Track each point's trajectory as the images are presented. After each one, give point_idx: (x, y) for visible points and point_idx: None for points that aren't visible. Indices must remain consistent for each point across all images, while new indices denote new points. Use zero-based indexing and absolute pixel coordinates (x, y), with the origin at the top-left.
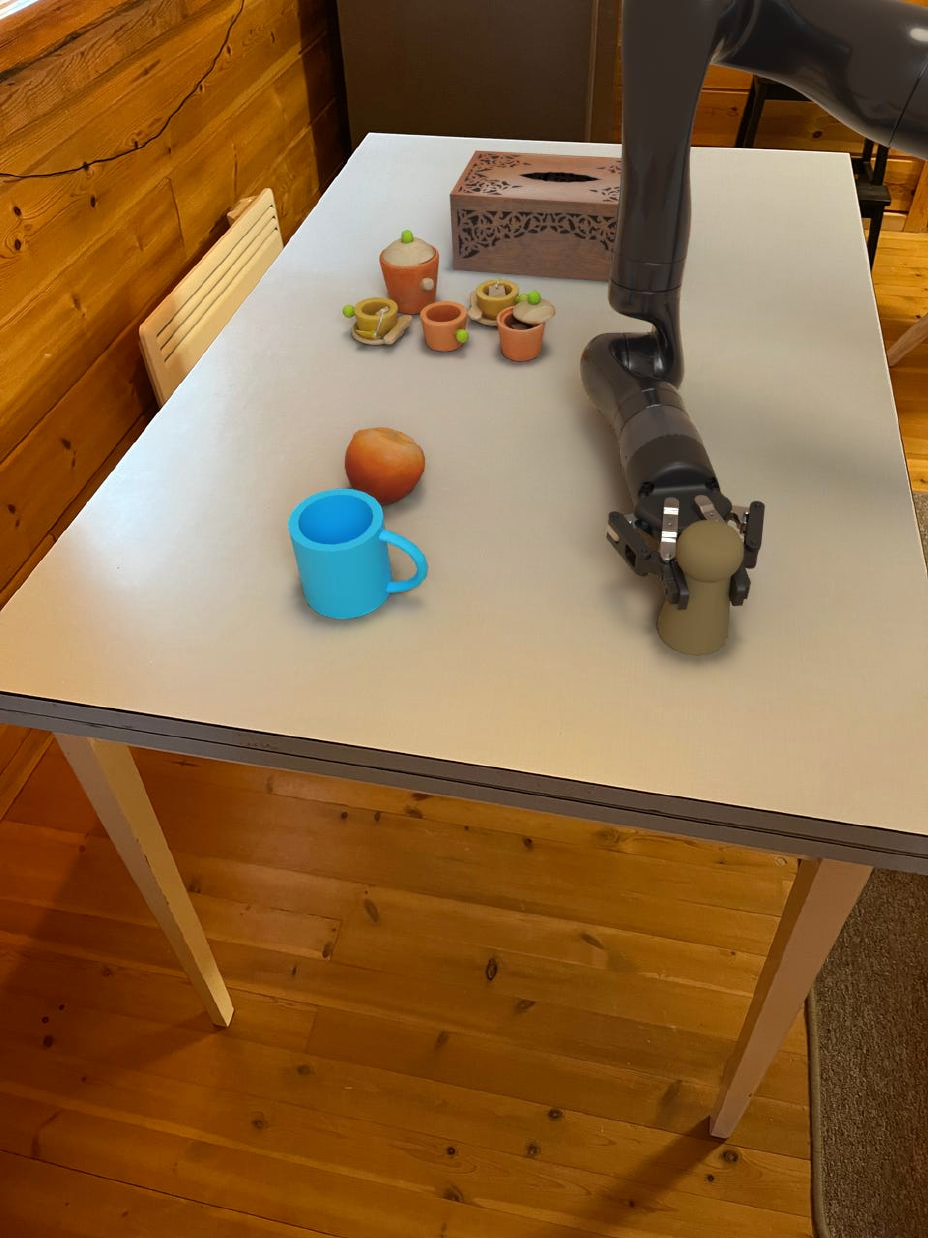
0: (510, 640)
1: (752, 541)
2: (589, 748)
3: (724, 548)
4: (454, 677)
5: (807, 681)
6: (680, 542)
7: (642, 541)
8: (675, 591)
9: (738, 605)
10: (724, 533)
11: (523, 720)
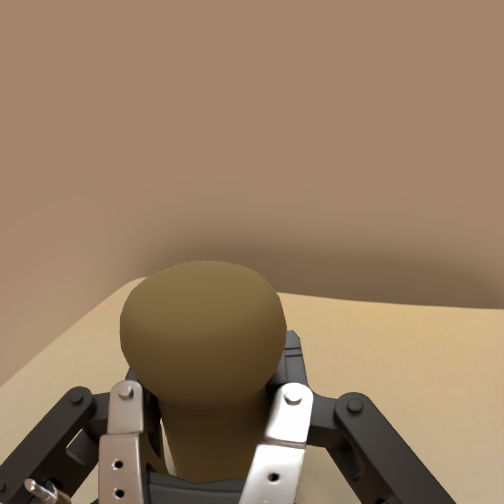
0: (478, 414)
1: (78, 397)
2: (366, 318)
3: (186, 263)
4: (500, 362)
5: (126, 367)
6: (279, 307)
7: (360, 435)
8: (287, 331)
9: None
10: (164, 282)
11: (429, 335)
